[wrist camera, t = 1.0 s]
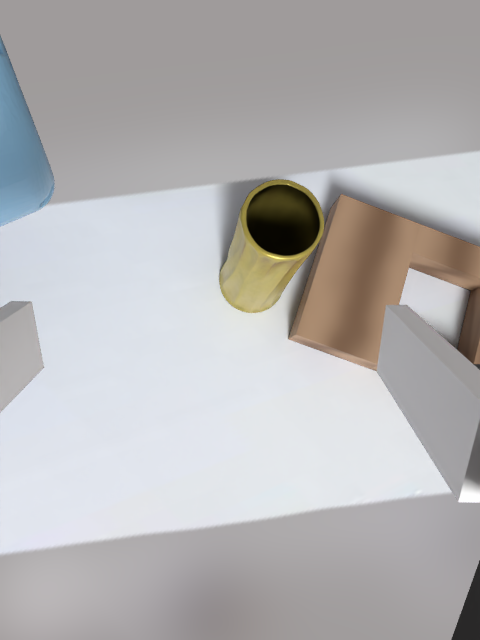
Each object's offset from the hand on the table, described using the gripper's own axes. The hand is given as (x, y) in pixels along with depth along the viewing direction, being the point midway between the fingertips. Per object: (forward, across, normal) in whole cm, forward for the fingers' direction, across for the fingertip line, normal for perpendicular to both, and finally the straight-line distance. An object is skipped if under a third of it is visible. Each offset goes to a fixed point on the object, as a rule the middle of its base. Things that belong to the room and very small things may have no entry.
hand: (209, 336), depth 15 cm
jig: (+24, +16, -7) cm, 30 cm away
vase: (+24, +2, -5) cm, 24 cm away
